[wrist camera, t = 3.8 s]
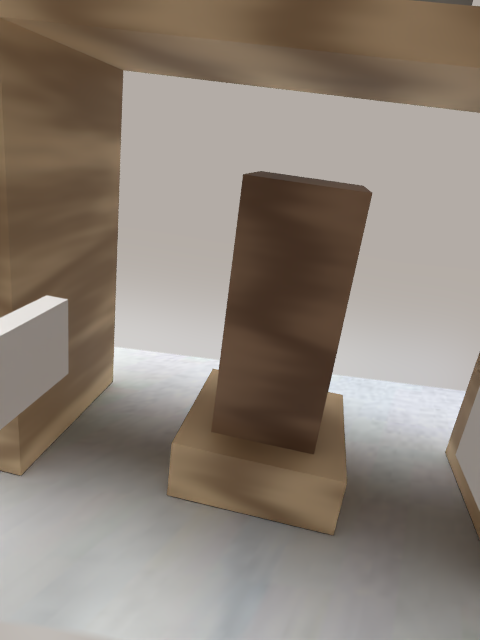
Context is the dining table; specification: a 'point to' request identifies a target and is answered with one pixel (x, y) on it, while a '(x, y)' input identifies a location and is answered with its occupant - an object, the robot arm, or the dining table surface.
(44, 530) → the dining table surface
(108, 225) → the wooden side table
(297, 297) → the walnut block
